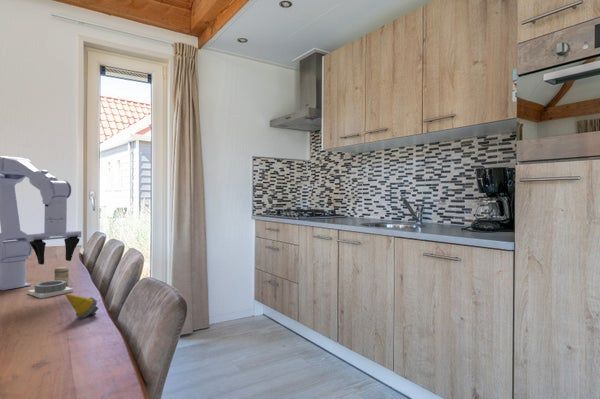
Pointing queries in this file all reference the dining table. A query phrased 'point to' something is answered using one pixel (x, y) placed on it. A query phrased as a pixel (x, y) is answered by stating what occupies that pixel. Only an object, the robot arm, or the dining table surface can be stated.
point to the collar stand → (50, 289)
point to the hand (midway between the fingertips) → (55, 262)
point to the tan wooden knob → (62, 274)
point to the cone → (83, 305)
